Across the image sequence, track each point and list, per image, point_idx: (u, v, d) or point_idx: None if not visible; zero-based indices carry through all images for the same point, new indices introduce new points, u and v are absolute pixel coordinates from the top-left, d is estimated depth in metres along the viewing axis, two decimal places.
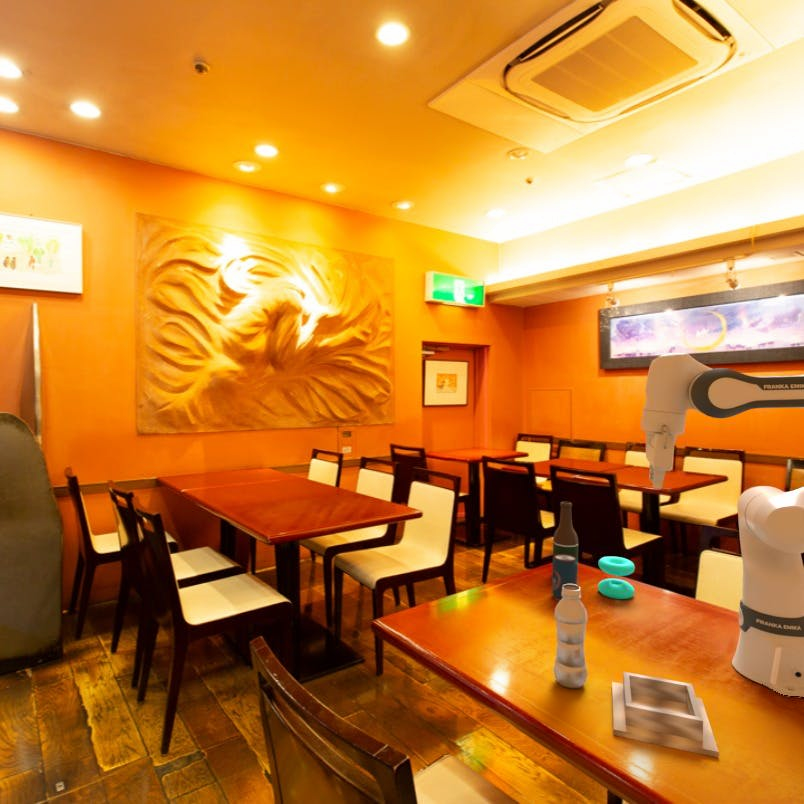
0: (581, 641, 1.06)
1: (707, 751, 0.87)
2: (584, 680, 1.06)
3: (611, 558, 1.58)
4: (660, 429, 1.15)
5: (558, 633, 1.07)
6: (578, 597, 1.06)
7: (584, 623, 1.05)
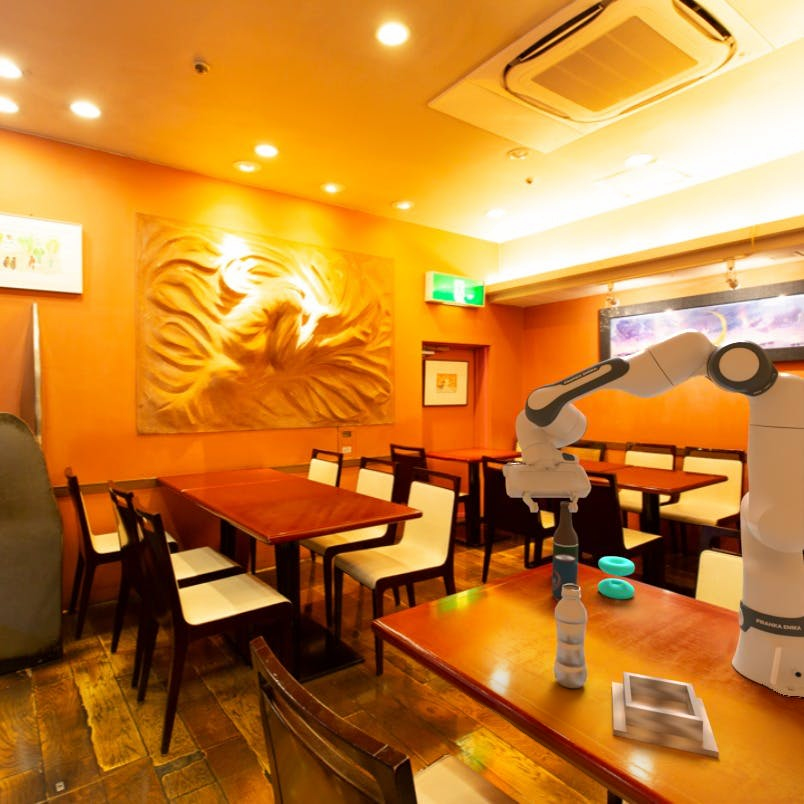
0: (581, 641, 1.06)
1: (707, 751, 0.87)
2: (584, 680, 1.06)
3: (611, 558, 1.58)
4: None
5: (558, 633, 1.07)
6: (578, 597, 1.06)
7: (584, 623, 1.05)
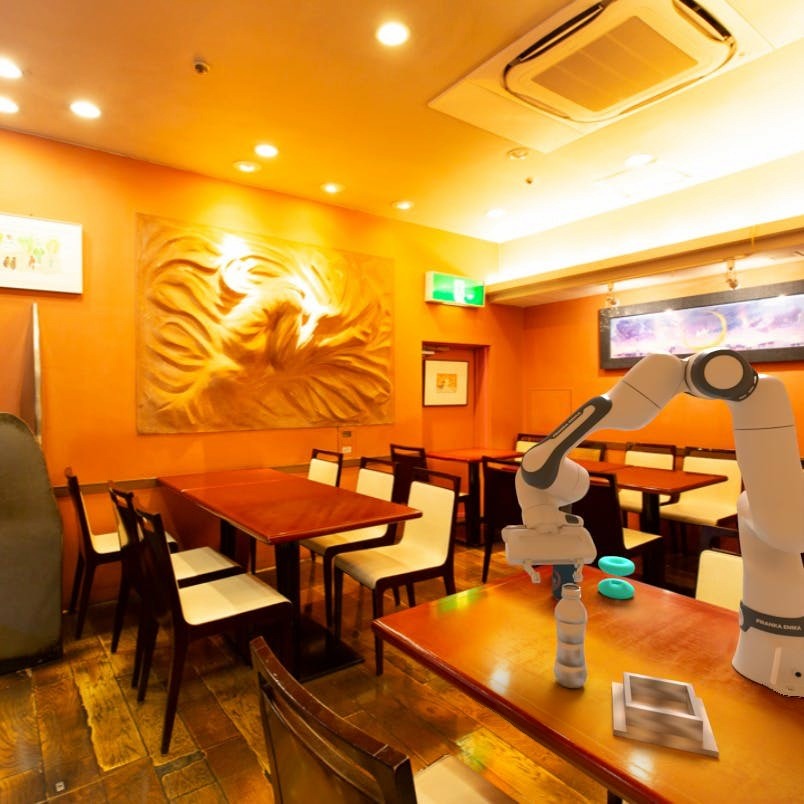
0: (581, 641, 1.06)
1: (707, 751, 0.87)
2: (584, 680, 1.06)
3: (611, 558, 1.58)
4: None
5: (558, 633, 1.07)
6: (578, 597, 1.06)
7: (584, 623, 1.05)
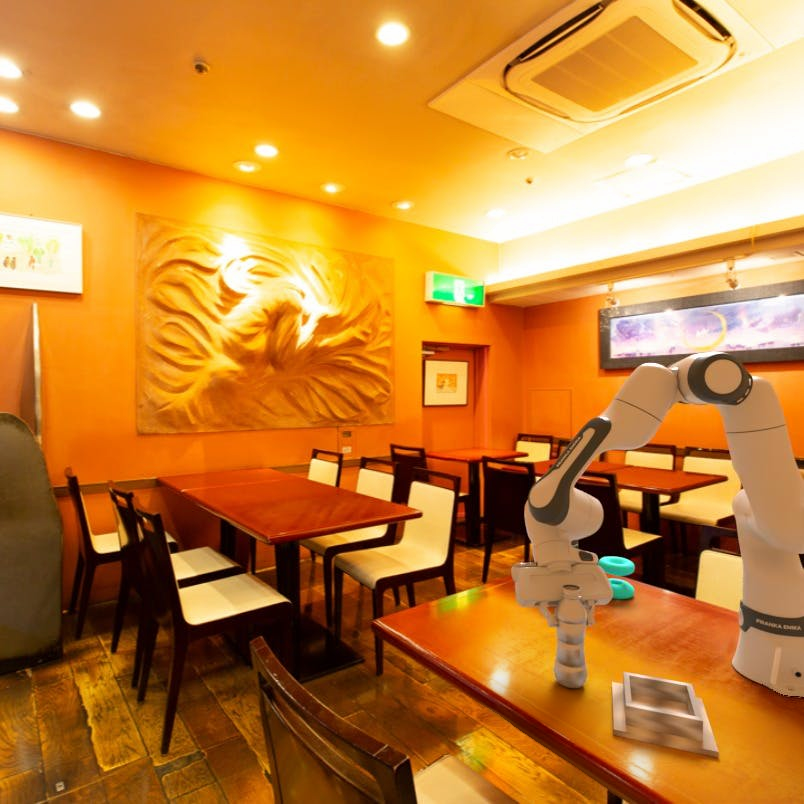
0: (581, 641, 1.06)
1: (707, 751, 0.87)
2: (584, 680, 1.06)
3: (611, 558, 1.58)
4: None
5: (558, 633, 1.07)
6: (578, 597, 1.06)
7: (584, 623, 1.05)
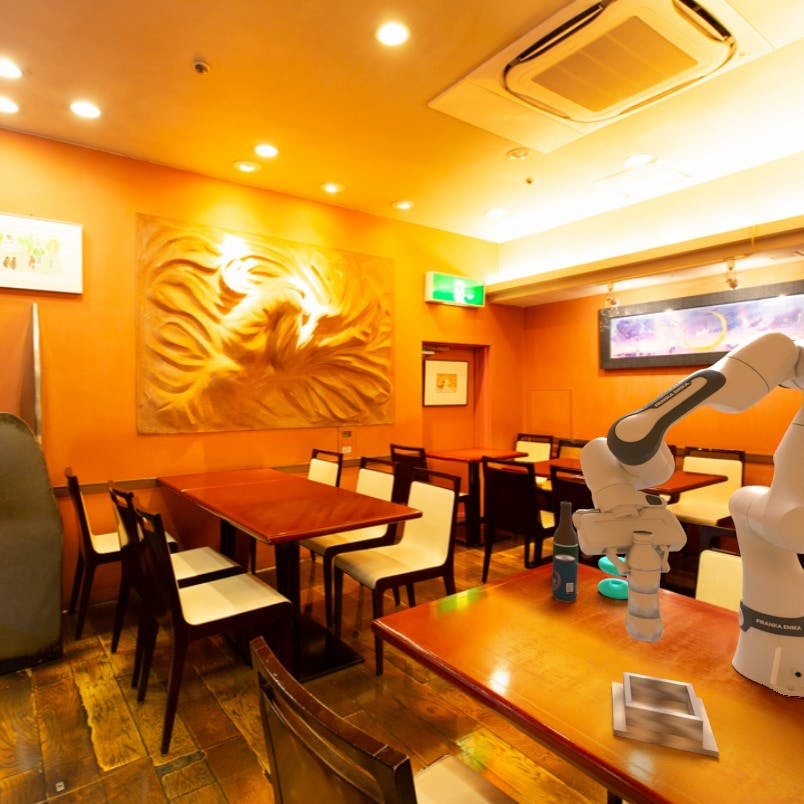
0: (656, 590, 0.96)
1: (707, 751, 0.87)
2: (661, 633, 0.96)
3: None
4: None
5: (630, 583, 0.98)
6: (651, 542, 0.97)
7: (659, 570, 0.96)
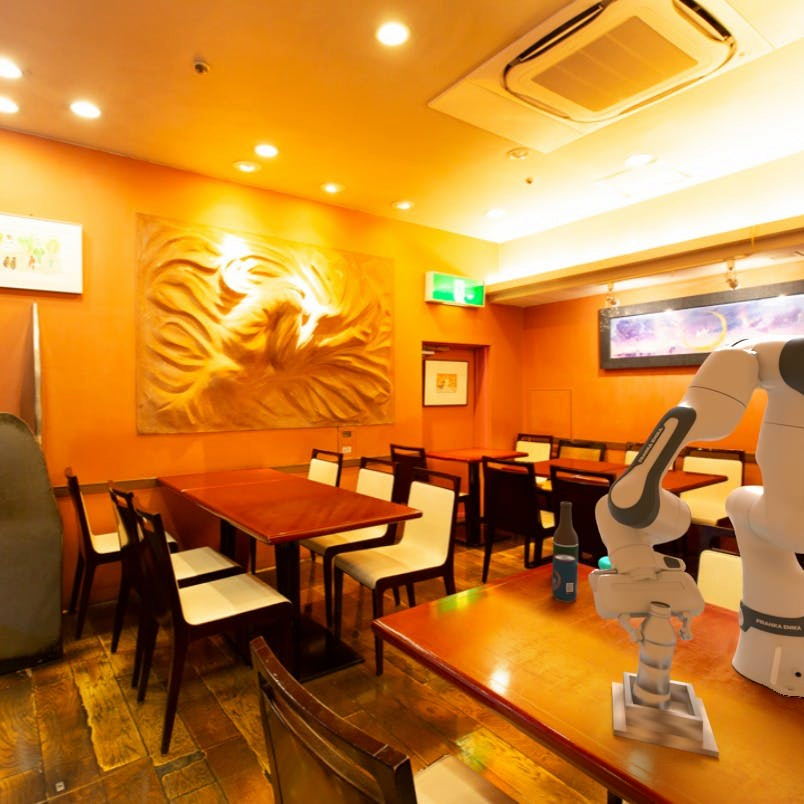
0: (668, 666, 0.94)
1: (707, 751, 0.87)
2: (668, 710, 0.94)
3: None
4: None
5: (642, 654, 0.96)
6: (669, 616, 0.95)
7: (674, 646, 0.94)
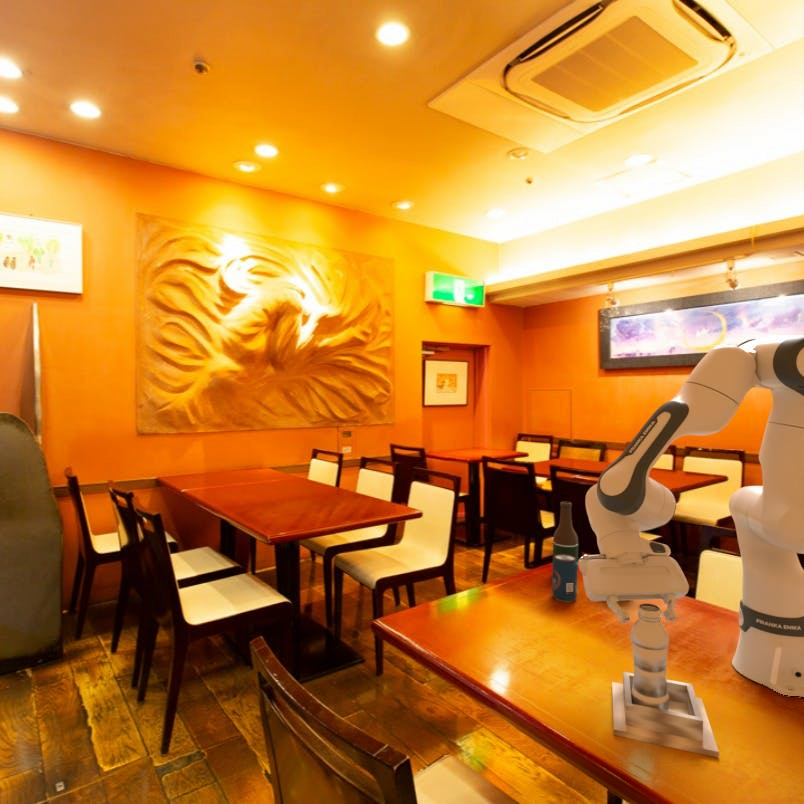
0: (663, 668, 0.93)
1: (707, 751, 0.87)
2: None
3: None
4: None
5: (636, 659, 0.95)
6: (659, 619, 0.94)
7: (666, 648, 0.93)
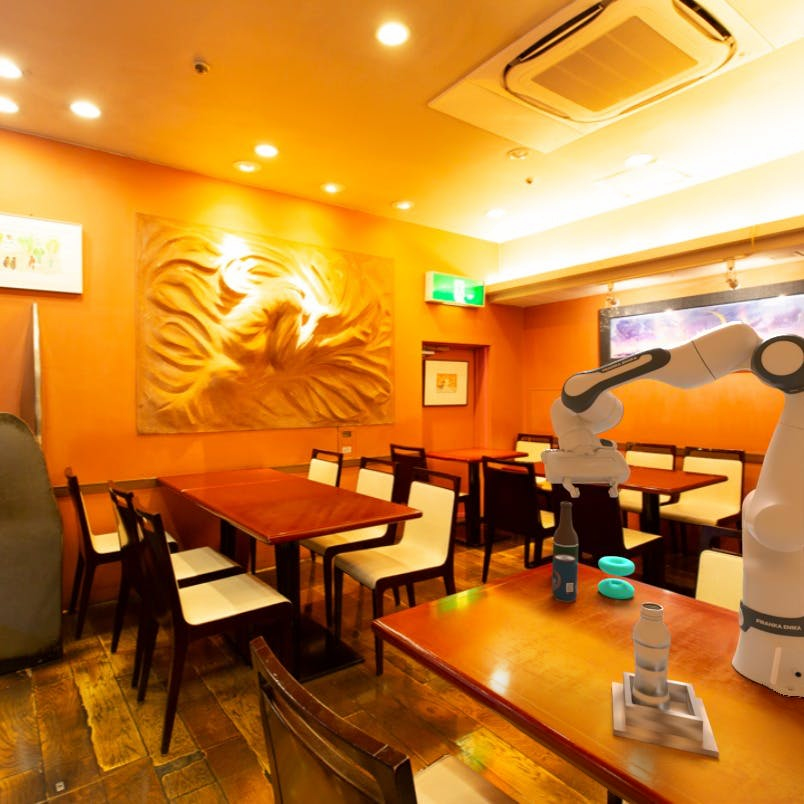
0: (664, 667, 0.94)
1: (707, 751, 0.87)
2: None
3: (611, 558, 1.58)
4: None
5: (637, 658, 0.95)
6: (661, 618, 0.94)
7: (668, 647, 0.94)
